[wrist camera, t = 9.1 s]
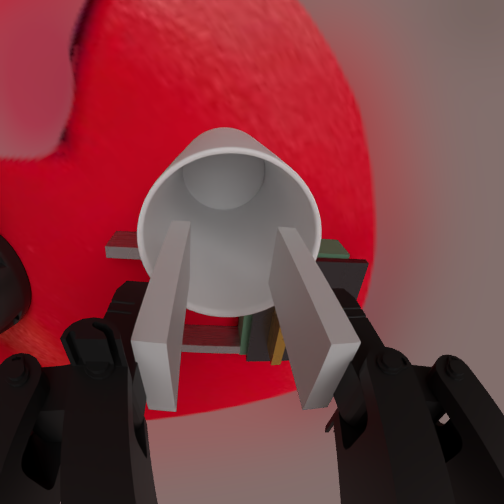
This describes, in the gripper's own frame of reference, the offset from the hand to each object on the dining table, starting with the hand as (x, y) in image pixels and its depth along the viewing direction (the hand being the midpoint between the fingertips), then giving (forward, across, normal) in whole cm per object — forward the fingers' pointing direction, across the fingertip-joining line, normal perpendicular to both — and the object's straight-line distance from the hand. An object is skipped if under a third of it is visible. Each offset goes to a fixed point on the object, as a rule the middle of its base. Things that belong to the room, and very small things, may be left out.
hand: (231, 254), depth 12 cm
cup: (+17, 0, 0) cm, 17 cm away
